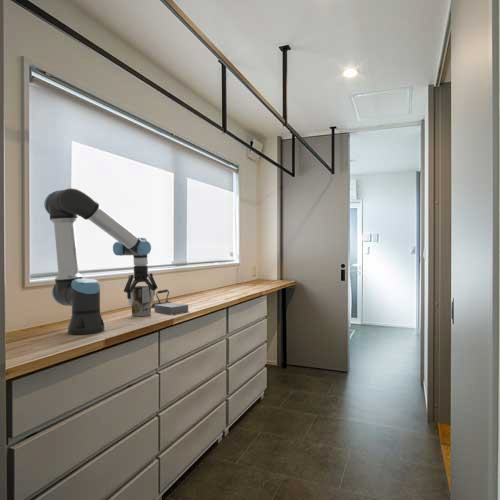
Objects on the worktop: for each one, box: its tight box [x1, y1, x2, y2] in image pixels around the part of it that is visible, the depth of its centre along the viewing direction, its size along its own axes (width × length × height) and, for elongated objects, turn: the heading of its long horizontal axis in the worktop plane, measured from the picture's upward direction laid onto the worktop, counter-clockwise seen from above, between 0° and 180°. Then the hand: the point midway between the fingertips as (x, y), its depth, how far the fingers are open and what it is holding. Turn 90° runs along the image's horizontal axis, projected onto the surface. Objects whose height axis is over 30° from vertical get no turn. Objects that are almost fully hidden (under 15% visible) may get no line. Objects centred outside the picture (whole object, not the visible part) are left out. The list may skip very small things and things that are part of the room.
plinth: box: [154, 302, 189, 315], centre depth 216 cm, size 12×16×4 cm
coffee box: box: [131, 285, 152, 317], centre depth 206 cm, size 9×6×16 cm
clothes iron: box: [151, 288, 172, 309], centre depth 237 cm, size 14×10×11 cm
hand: (141, 303), depth 206 cm, fingers open, 13 cm apart
